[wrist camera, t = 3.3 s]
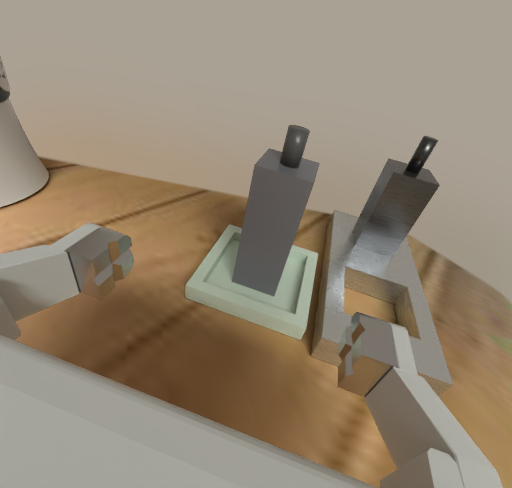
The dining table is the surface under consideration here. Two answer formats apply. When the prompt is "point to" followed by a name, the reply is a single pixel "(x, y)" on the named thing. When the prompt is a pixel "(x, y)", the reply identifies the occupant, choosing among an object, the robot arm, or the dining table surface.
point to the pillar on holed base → (382, 265)
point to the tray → (249, 300)
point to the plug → (274, 212)
